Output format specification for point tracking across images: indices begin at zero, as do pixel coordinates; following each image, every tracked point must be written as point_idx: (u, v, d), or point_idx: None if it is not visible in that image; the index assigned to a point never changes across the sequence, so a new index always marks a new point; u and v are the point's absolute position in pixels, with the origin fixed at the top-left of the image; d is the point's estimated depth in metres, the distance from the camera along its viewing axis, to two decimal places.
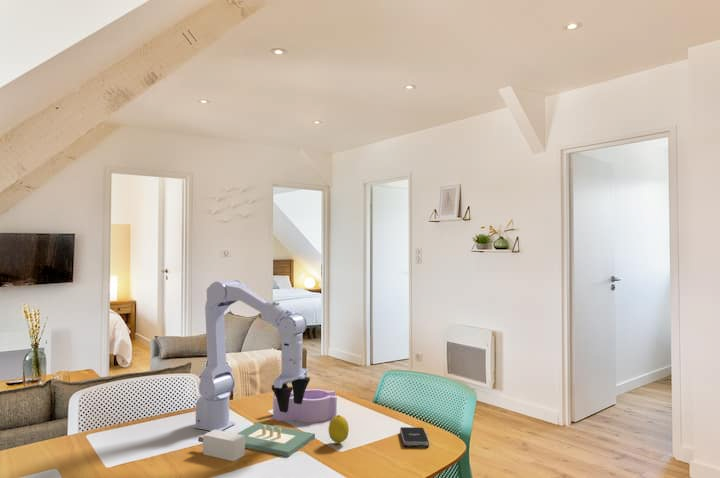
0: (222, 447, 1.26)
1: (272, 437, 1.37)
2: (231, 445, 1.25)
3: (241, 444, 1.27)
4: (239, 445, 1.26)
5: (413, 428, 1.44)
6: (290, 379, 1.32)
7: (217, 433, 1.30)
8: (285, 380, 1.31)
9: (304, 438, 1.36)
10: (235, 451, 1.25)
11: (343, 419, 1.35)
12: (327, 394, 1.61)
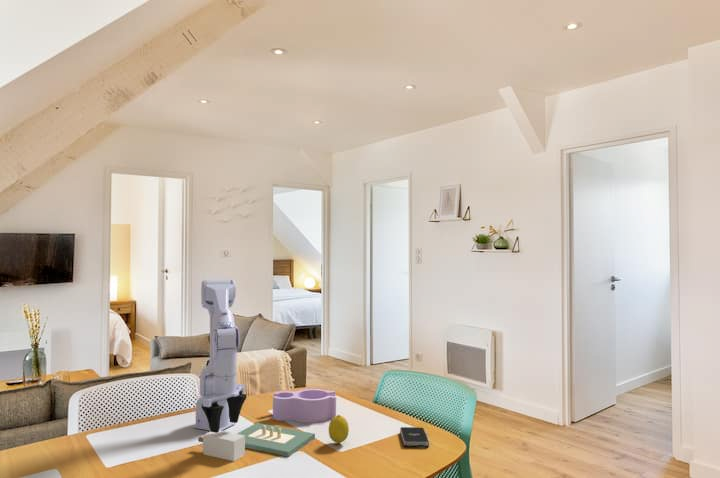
0: (222, 447, 1.26)
1: (272, 437, 1.37)
2: (231, 445, 1.25)
3: (241, 444, 1.27)
4: (239, 445, 1.26)
5: (413, 428, 1.44)
6: (221, 397, 1.24)
7: (217, 433, 1.30)
8: (215, 398, 1.23)
9: (304, 438, 1.36)
10: (235, 451, 1.25)
11: (343, 419, 1.35)
12: (327, 394, 1.61)
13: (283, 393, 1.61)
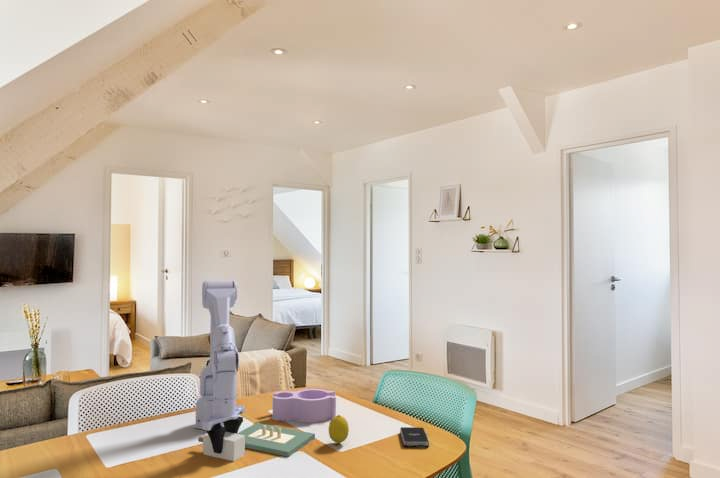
0: None
1: (272, 437, 1.37)
2: (231, 445, 1.25)
3: (241, 444, 1.27)
4: (239, 445, 1.26)
5: (413, 428, 1.44)
6: (221, 420, 1.24)
7: None
8: (215, 421, 1.23)
9: (304, 438, 1.36)
10: (235, 451, 1.25)
11: (343, 419, 1.35)
12: (327, 394, 1.61)
13: (282, 393, 1.61)
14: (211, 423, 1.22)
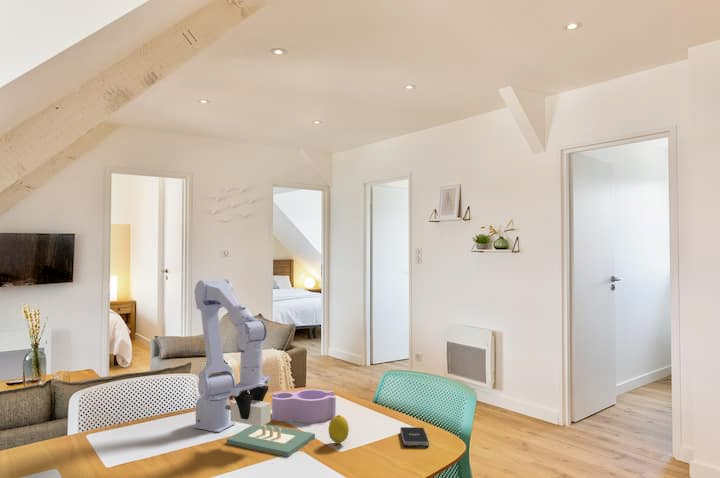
0: None
1: (272, 437, 1.37)
2: (258, 411, 1.30)
3: (267, 411, 1.32)
4: (265, 412, 1.31)
5: (413, 428, 1.44)
6: (248, 387, 1.29)
7: None
8: (242, 388, 1.28)
9: (304, 438, 1.36)
10: (261, 416, 1.30)
11: (343, 419, 1.35)
12: (326, 394, 1.61)
13: (281, 393, 1.60)
14: (239, 389, 1.27)
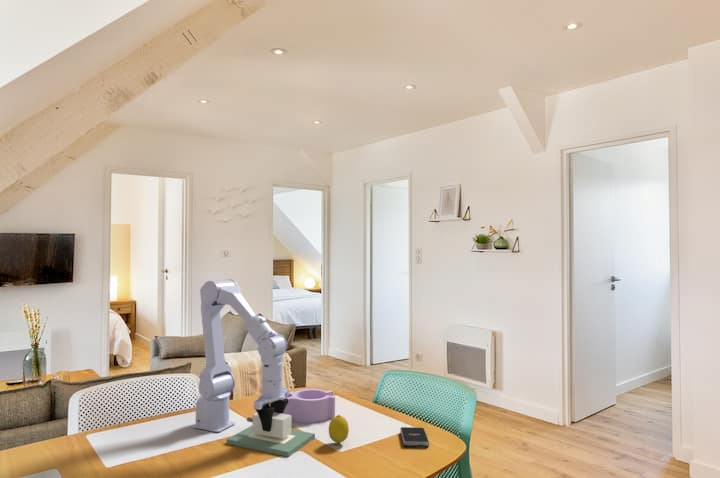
0: (271, 426, 1.35)
1: (272, 437, 1.37)
2: (280, 424, 1.34)
3: (288, 423, 1.36)
4: (287, 424, 1.36)
5: (413, 428, 1.44)
6: (270, 400, 1.34)
7: None
8: (265, 401, 1.33)
9: (304, 438, 1.36)
10: (283, 429, 1.34)
11: (343, 419, 1.35)
12: (325, 394, 1.61)
13: None
14: (262, 403, 1.32)
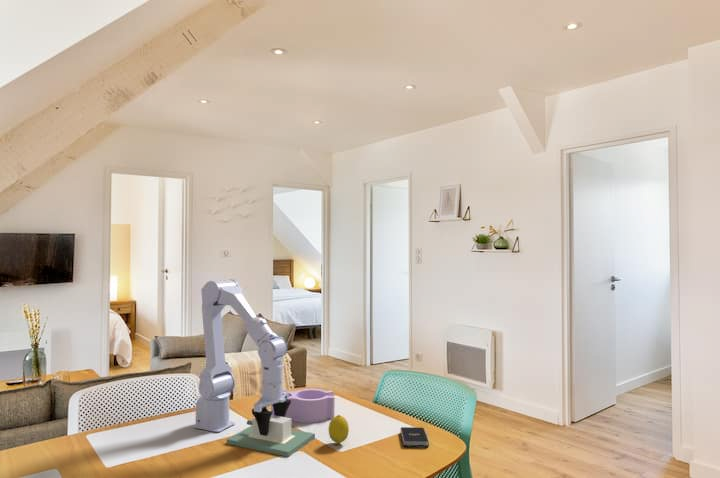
0: (271, 429, 1.35)
1: None
2: (280, 427, 1.34)
3: (288, 426, 1.36)
4: (287, 427, 1.36)
5: (413, 428, 1.44)
6: (270, 403, 1.34)
7: None
8: (265, 404, 1.33)
9: (304, 438, 1.36)
10: (283, 432, 1.34)
11: (343, 419, 1.35)
12: (325, 394, 1.61)
13: None
14: (262, 405, 1.32)
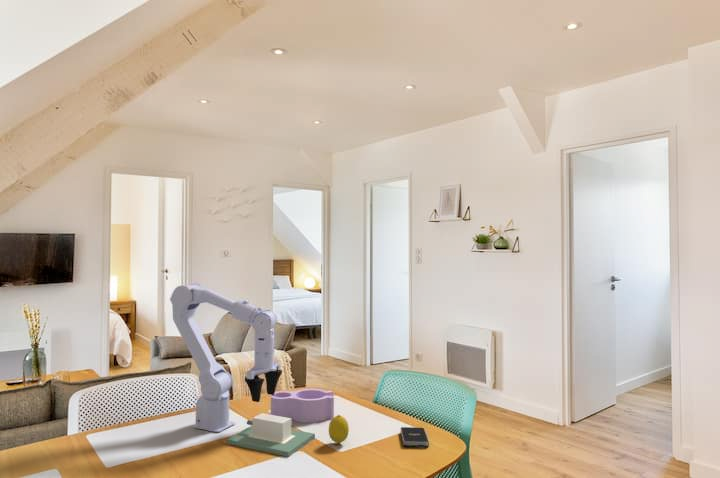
0: (271, 429, 1.35)
1: None
2: (280, 427, 1.34)
3: (288, 426, 1.36)
4: (287, 427, 1.36)
5: (413, 428, 1.44)
6: (262, 371, 1.42)
7: (265, 416, 1.39)
8: (257, 372, 1.41)
9: (304, 438, 1.36)
10: (283, 432, 1.34)
11: (343, 419, 1.35)
12: (325, 394, 1.61)
13: (281, 392, 1.61)
14: (254, 373, 1.40)
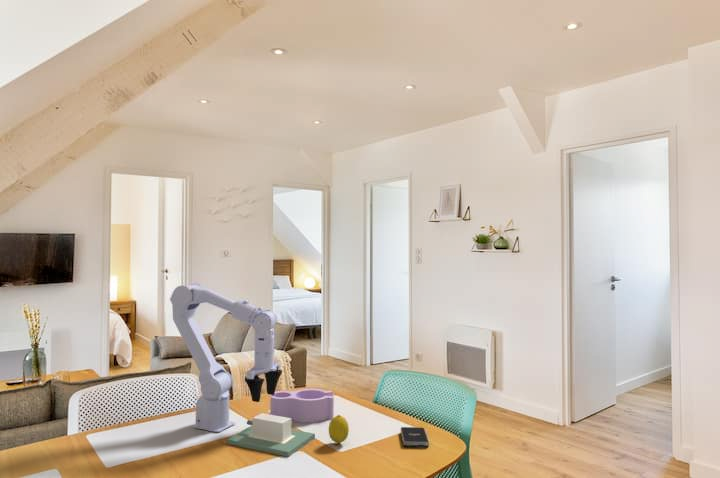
0: (271, 429, 1.35)
1: None
2: (280, 427, 1.34)
3: (288, 426, 1.36)
4: (287, 427, 1.36)
5: (413, 428, 1.44)
6: (262, 371, 1.42)
7: (265, 416, 1.39)
8: (257, 372, 1.41)
9: (304, 438, 1.36)
10: (283, 432, 1.34)
11: (343, 419, 1.35)
12: (325, 394, 1.61)
13: (280, 392, 1.61)
14: (254, 373, 1.40)
